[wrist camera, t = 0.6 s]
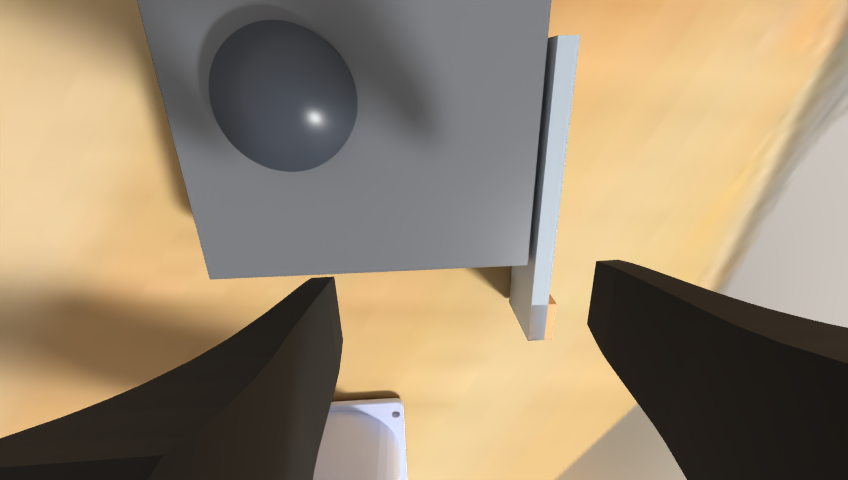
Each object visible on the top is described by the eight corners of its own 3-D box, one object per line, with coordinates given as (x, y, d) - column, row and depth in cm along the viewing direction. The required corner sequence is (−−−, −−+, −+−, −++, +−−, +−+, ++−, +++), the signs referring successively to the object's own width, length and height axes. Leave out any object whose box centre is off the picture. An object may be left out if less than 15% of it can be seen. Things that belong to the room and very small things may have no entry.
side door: (530, 301, 22) (552, 339, 19) (509, 302, 22) (527, 340, 19) (555, 43, 17) (591, 34, 14) (528, 43, 17) (558, 35, 14)
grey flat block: (507, 236, 21) (532, 273, 17) (240, 247, 20) (201, 288, 16) (524, -17, 16) (564, -48, 12) (183, -14, 16) (110, -45, 12)
